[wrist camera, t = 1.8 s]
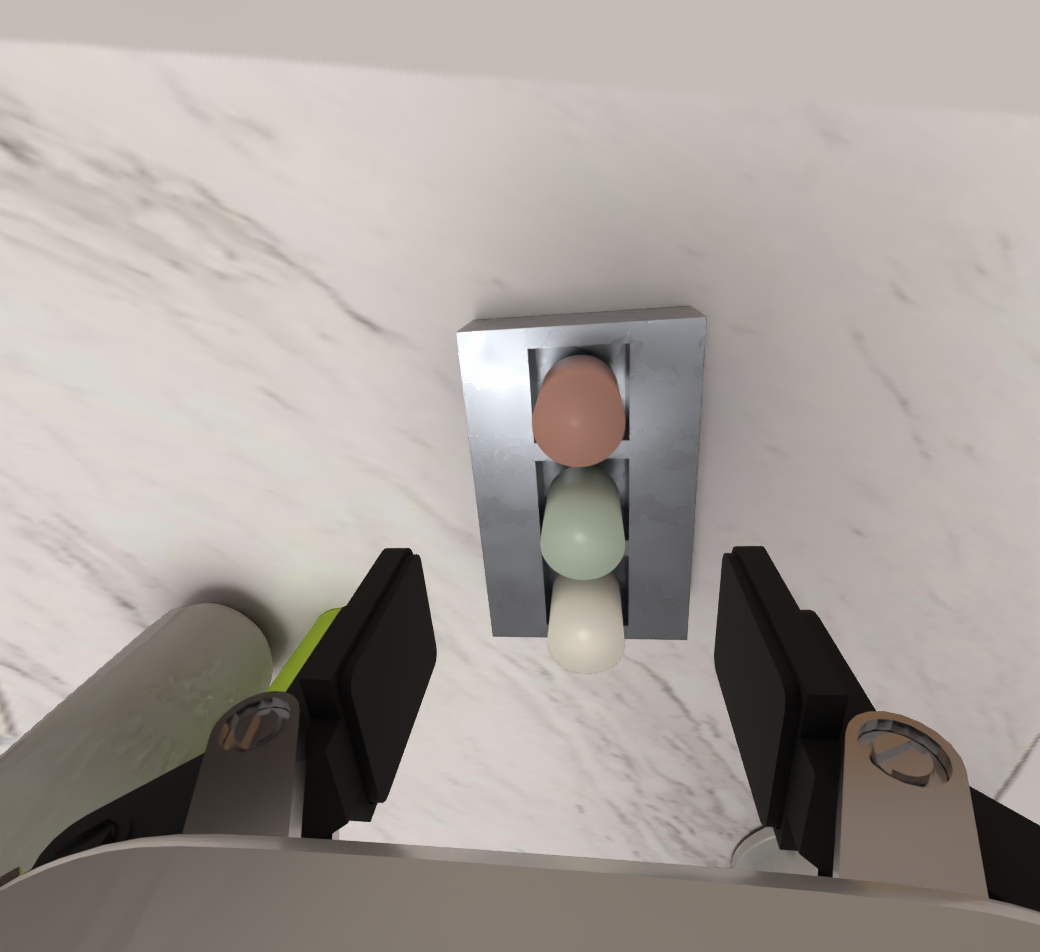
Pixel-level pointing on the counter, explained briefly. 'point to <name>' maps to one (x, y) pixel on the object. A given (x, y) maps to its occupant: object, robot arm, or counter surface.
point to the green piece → (583, 524)
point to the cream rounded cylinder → (586, 624)
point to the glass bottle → (128, 724)
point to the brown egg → (579, 412)
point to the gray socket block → (633, 465)
